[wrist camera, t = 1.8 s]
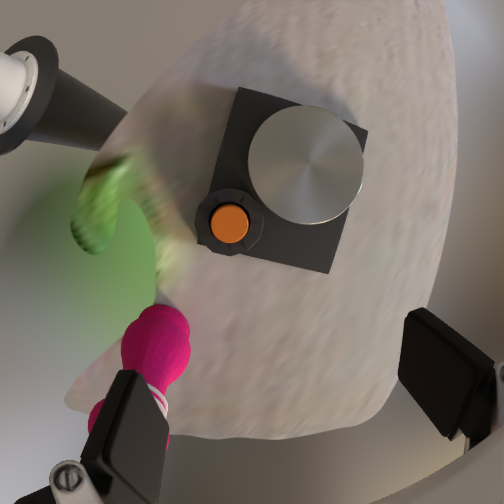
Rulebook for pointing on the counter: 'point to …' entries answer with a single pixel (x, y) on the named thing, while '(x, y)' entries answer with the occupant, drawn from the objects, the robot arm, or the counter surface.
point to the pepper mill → (154, 352)
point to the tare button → (229, 223)
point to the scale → (259, 216)
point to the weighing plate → (305, 164)
